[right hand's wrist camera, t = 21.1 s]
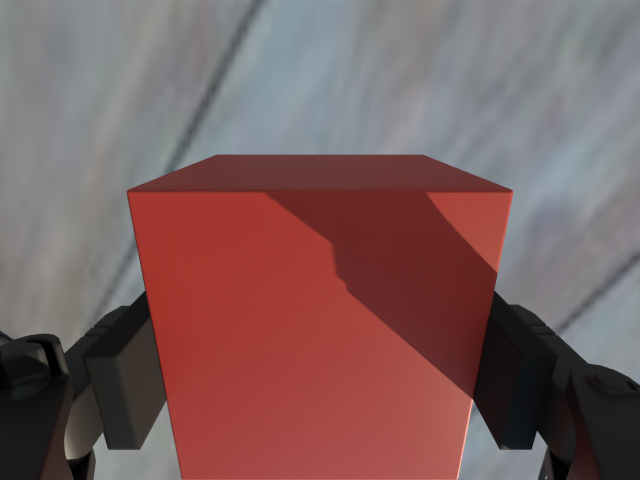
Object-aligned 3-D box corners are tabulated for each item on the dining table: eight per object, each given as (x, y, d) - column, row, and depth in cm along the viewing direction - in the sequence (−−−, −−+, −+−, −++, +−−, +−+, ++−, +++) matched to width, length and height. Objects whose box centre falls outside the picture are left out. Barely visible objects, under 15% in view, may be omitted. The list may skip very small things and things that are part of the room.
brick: (405, 340, 17) (458, 481, 11) (234, 340, 17) (181, 480, 11) (424, 154, 14) (515, 189, 8) (215, 154, 14) (124, 189, 8)
